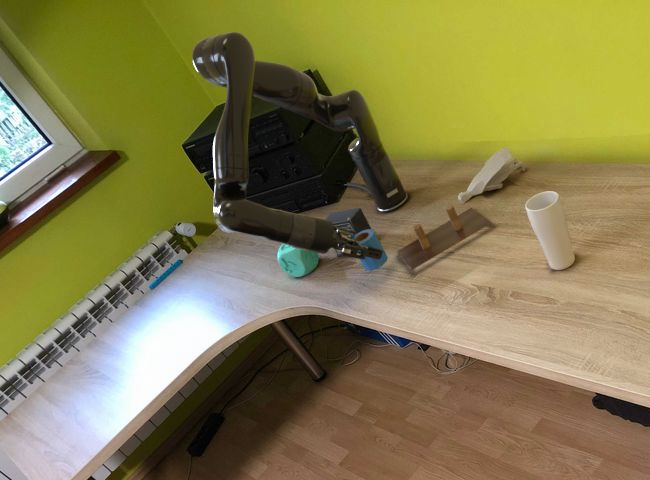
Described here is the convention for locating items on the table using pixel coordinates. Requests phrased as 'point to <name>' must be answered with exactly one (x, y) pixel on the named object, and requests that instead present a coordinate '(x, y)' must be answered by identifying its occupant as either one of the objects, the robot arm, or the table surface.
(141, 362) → the table surface
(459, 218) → the tape rack
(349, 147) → the robot arm
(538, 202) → the drinking glass
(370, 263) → the tape roll
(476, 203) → the table surface
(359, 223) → the small box
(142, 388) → the table surface
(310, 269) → the decorative dice
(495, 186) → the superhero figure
